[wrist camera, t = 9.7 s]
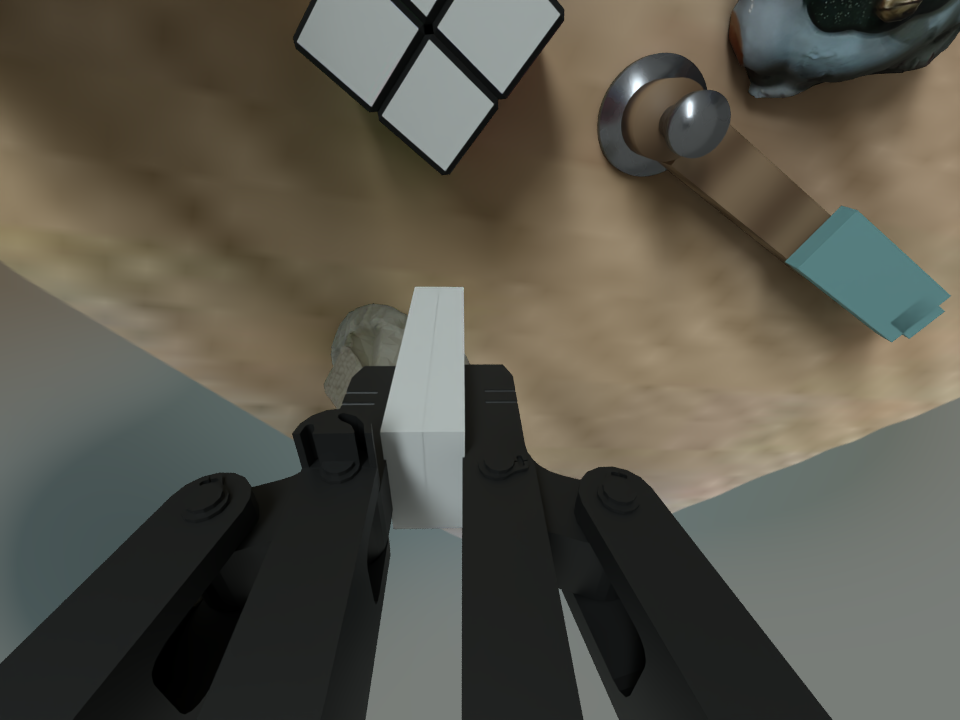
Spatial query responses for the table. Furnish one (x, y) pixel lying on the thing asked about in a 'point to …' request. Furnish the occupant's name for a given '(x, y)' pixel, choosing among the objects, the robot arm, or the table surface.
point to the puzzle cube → (428, 62)
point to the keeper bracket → (869, 276)
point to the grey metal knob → (663, 115)
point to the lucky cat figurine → (836, 39)
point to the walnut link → (725, 173)
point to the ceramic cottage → (364, 345)
